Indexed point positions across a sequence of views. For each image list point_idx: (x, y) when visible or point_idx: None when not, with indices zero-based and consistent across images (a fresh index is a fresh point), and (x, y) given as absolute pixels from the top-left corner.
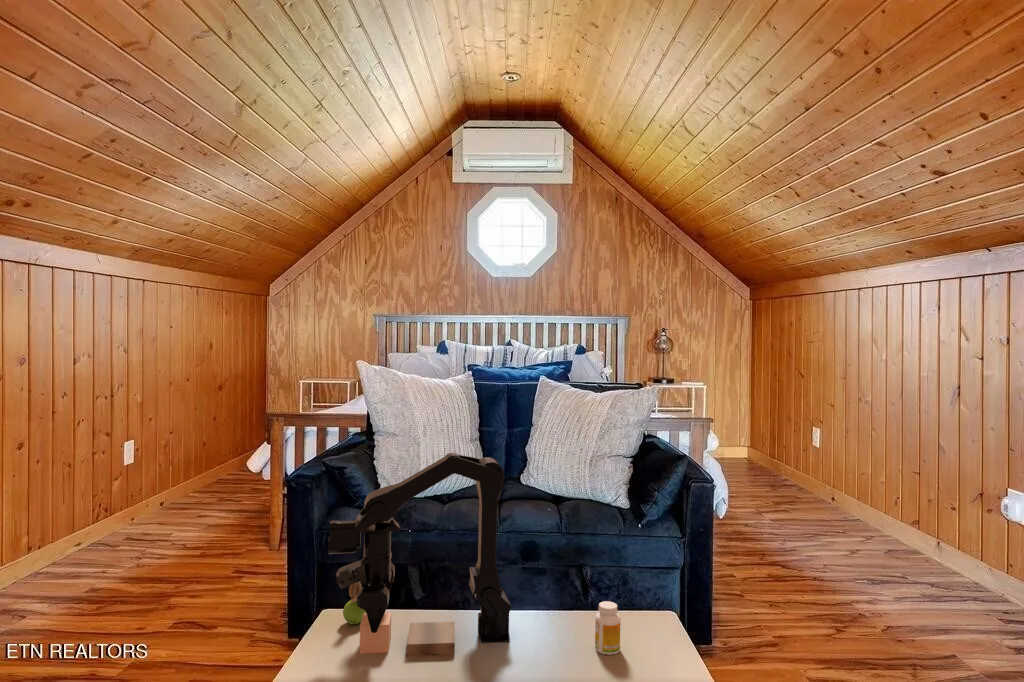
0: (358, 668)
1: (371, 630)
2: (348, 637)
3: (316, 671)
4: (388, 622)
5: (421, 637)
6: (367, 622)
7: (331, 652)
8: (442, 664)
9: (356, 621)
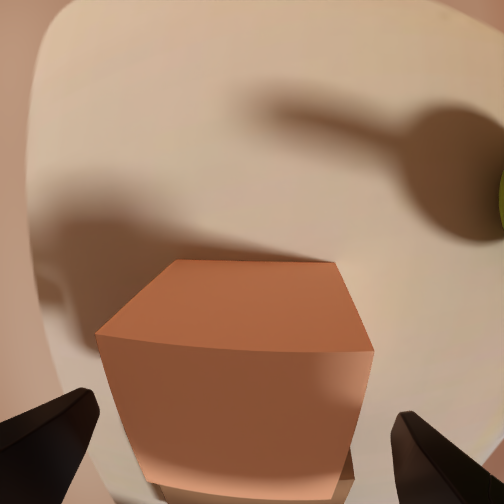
0: (58, 267)
1: (69, 395)
2: (375, 169)
3: (40, 97)
4: (175, 485)
5: (210, 500)
6: (154, 390)
7: (190, 100)
8: (136, 482)
9: (500, 211)
